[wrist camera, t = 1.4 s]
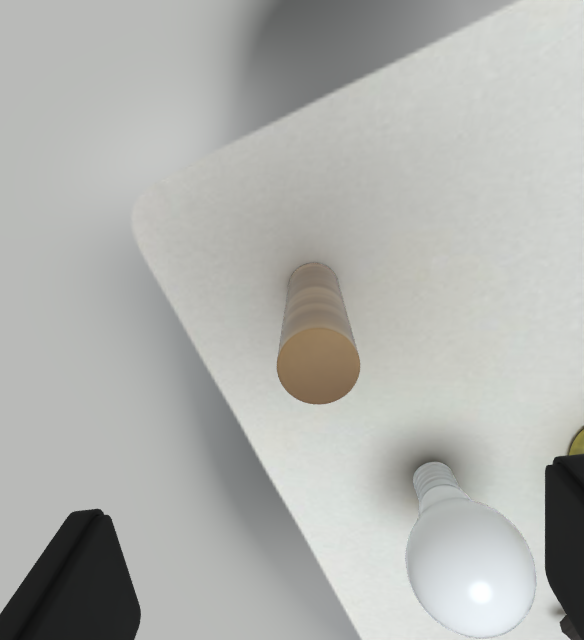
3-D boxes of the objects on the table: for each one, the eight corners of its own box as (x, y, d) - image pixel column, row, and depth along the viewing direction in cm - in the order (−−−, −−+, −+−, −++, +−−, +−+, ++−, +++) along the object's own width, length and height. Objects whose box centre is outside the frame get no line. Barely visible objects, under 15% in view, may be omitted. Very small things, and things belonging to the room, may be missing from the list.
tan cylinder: (284, 266, 28) (270, 334, 17) (335, 258, 28) (355, 322, 16) (292, 314, 29) (283, 409, 18) (341, 307, 29) (364, 399, 17)
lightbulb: (380, 510, 33) (414, 668, 23) (387, 430, 31) (427, 562, 21) (471, 513, 33) (548, 673, 23) (484, 433, 31) (574, 567, 21)
